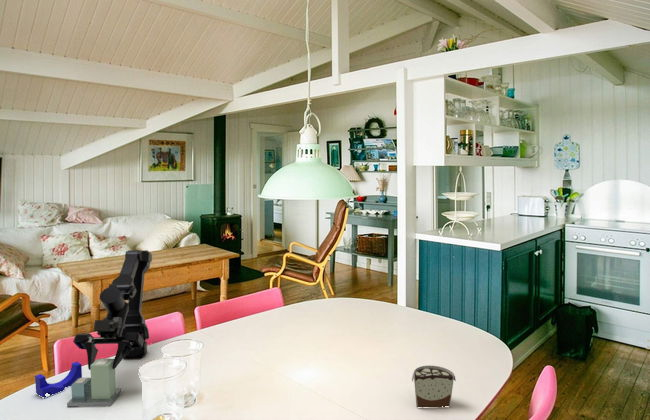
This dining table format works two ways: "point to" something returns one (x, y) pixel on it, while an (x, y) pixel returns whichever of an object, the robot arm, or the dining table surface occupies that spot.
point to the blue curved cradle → (45, 387)
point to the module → (103, 379)
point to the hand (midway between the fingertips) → (101, 369)
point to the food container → (433, 386)
